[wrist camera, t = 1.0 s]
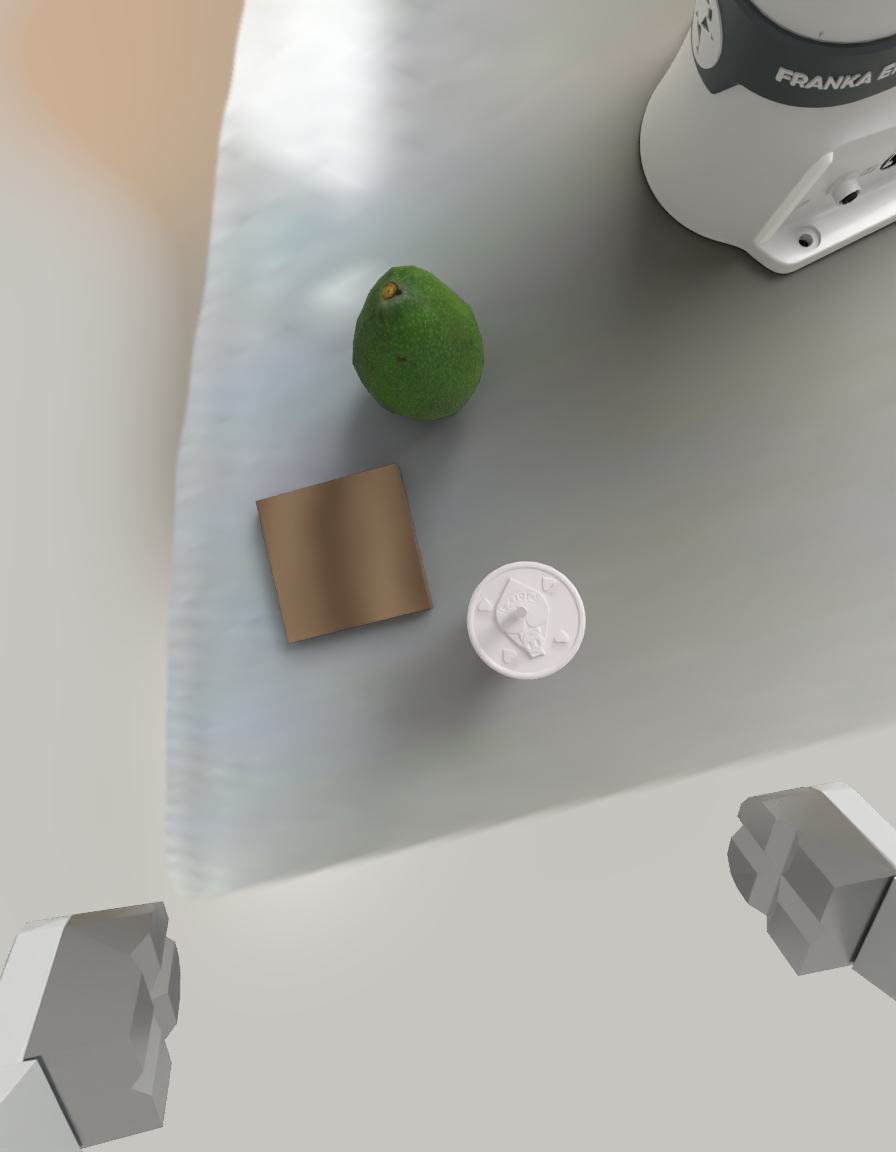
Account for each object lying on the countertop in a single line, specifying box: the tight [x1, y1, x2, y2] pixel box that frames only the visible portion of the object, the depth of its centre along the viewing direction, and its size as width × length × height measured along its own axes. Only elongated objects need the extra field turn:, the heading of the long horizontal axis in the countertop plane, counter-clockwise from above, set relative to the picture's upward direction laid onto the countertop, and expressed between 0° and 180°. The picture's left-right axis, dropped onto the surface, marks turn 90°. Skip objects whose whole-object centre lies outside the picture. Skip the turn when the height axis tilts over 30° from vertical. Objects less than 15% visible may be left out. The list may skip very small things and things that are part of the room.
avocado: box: [353, 266, 484, 420], centre depth 40 cm, size 8×8×12 cm
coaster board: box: [256, 463, 433, 643], centre depth 46 cm, size 10×10×2 cm
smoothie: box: [467, 561, 586, 680], centre depth 38 cm, size 6×6×14 cm
